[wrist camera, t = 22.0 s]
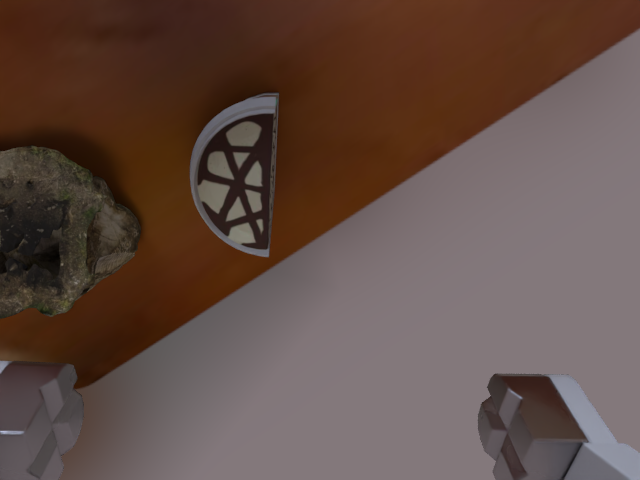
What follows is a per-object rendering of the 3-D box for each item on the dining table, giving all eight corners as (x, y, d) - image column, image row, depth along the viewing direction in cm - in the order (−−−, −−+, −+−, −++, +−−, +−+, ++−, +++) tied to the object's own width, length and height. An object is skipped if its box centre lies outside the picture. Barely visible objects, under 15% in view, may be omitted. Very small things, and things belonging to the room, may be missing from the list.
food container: (205, 67, 40) (179, 96, 31) (279, 74, 40) (275, 104, 32) (208, 202, 46) (188, 258, 37) (273, 206, 46) (268, 263, 38)
